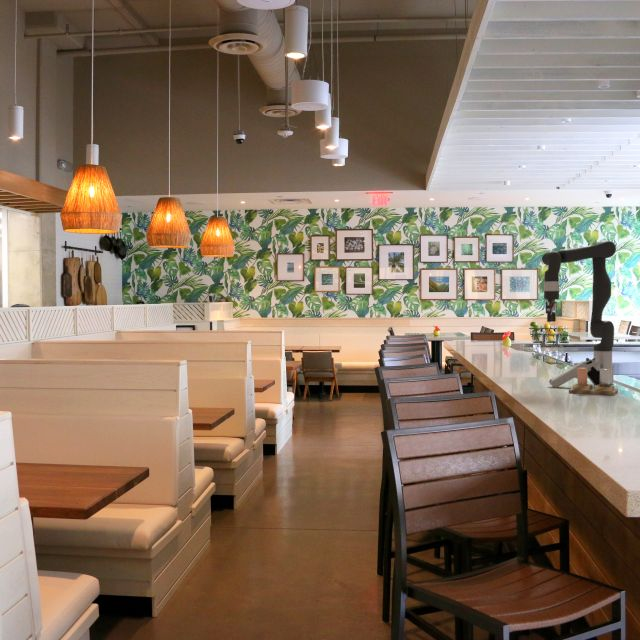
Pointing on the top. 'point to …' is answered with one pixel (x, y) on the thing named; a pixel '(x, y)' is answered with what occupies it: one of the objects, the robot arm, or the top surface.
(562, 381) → the handgun
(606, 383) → the pin
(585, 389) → the wooden compartment tray
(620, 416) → the top surface
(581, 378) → the pin
